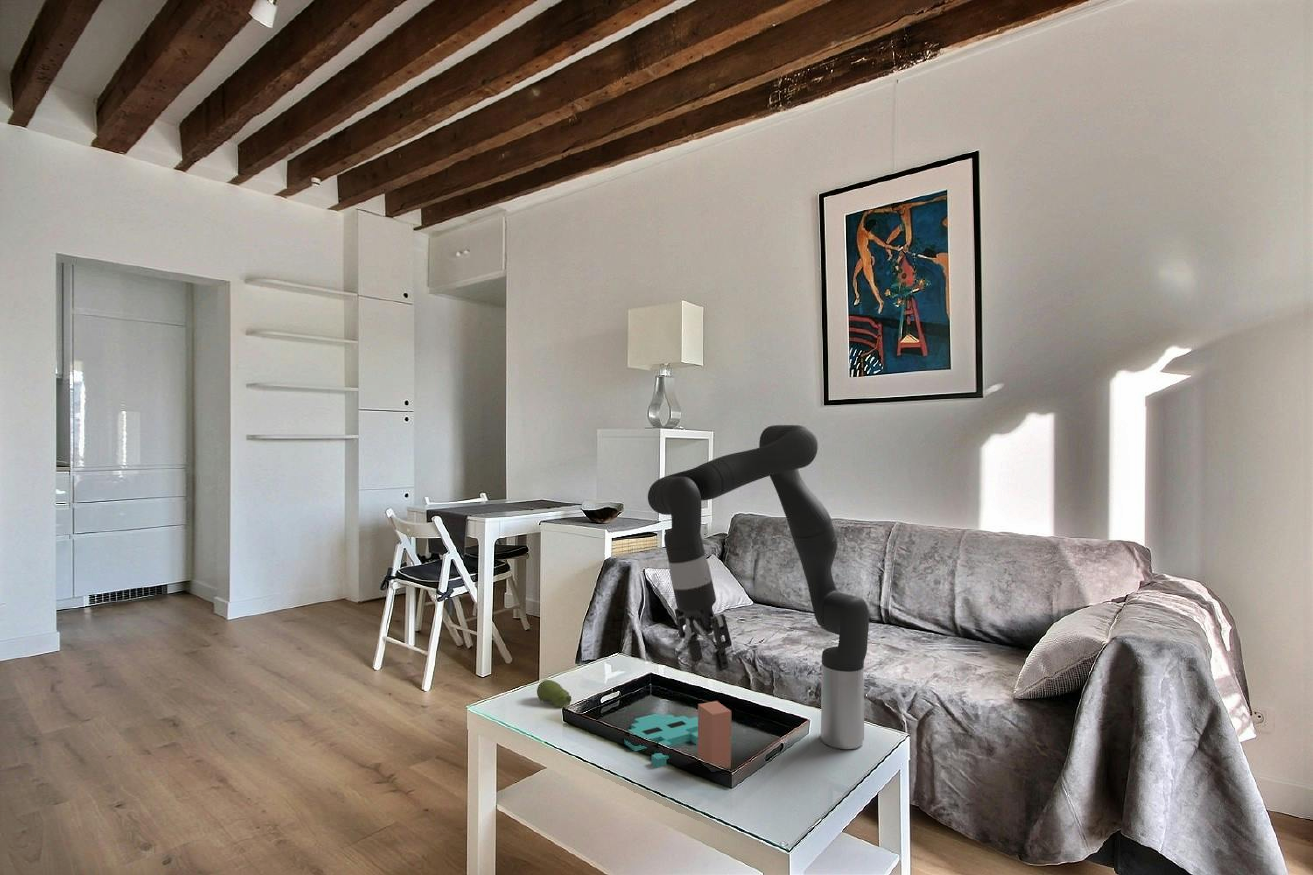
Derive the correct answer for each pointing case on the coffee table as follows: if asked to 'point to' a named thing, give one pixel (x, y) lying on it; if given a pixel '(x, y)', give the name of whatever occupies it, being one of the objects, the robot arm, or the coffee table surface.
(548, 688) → the pear
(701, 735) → the block
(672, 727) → the alien figure
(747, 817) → the coffee table surface
